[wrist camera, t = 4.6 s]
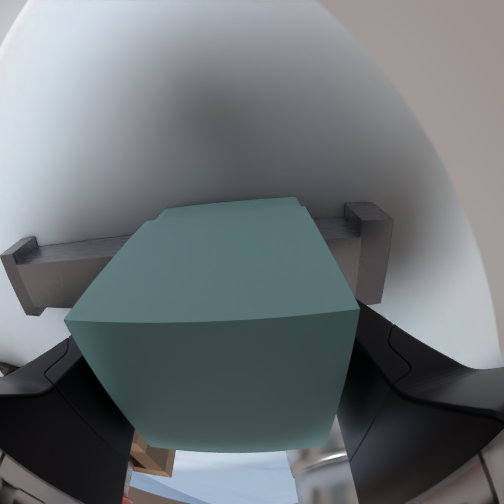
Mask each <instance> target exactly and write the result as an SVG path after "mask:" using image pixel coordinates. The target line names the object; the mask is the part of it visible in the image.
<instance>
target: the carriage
mask: <svg viewBox="0 0 504 504" xmlns="http://www.w3.org/2000/svg"><path fill="white" fill-rule="evenodd" d="M359 312H360V307H359V305H358V303H357V301H356V299H355V297H354V295H353V293H352V291H351V289H350V287H349V285H348V283H347V282H346V280H345V278H344V276H343V274H342V272H341V270H340V268H339V266H338V264H337V263H336V261H335V259H334V257H333V255H332V253H331V251H330V250H329V248H328V246H327V244H326V242H325V241H324V239H323V237H322V235H321V233H320V232H319V230H318V228H317V226H316V225H315V223H314V221H313V219H312V218H311V216H310V214H309V212H308V211H307V209H306V207H305V206H300V204H299V202H298V200H297V198H296V197H282V198H268V199H255V200H243V201H231V202H221V203H210V204H201V205H192V206H183V207H174V208H166V209H164V210H163V211H162V212H161V213H160V215H159V216H158V217H157V218H156V219H155V220H147V221H145V222H144V224H143V225H142V226H141V227H140V228H139V229H138V230H137V231H136V232H135V233H134V234H133V235H132V237H131V238H130V239H129V240H128V241H127V242H126V243H125V244H124V245H123V247H122V248H121V249H120V250H119V251H118V252H117V253H116V255H115V256H114V257H113V258H112V259H111V260H110V262H109V263H108V264H107V265H106V266H105V268H104V269H103V270H102V271H101V272H100V274H99V275H98V276H97V277H96V278H95V280H94V281H93V282H92V283H91V285H90V286H89V287H88V288H87V290H86V291H85V292H84V294H83V295H82V296H81V297H80V299H79V300H78V301H77V303H76V304H75V305H74V307H73V308H72V309H71V311H70V312H69V313H68V315H67V316H66V317H65V319H64V322H65V324H66V326H67V327H68V329H69V331H70V333H71V335H72V337H73V339H74V340H75V342H76V344H77V346H78V347H79V349H80V351H81V352H82V354H83V356H84V357H85V359H86V361H87V362H88V364H89V366H90V367H91V369H92V370H93V372H94V373H95V375H96V376H97V378H98V380H99V381H100V382H101V384H102V385H103V387H104V388H105V390H106V391H107V393H108V394H109V395H110V397H111V398H112V400H113V401H114V402H115V404H116V405H117V406H118V408H119V409H120V410H121V412H122V413H123V414H124V415H125V417H126V418H127V419H128V421H129V422H130V423H131V424H132V425H133V427H134V428H135V429H136V430H137V431H138V433H139V434H140V435H141V436H142V437H143V438H144V440H145V441H146V442H147V443H148V444H149V445H150V446H151V447H157V448H165V449H173V450H184V451H197V452H217V453H253V452H274V451H287V450H297V449H306V448H313V447H321V446H326V444H327V441H328V438H329V435H330V432H331V429H332V426H333V422H334V419H335V416H336V412H337V409H338V405H339V402H340V398H341V395H342V391H343V387H344V383H345V379H346V375H347V371H348V367H349V362H350V358H351V353H352V349H353V344H354V339H355V334H356V329H357V324H358V318H359Z"/></svg>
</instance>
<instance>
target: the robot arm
mask: <svg viewBox="0 0 504 504" xmlns="http://www.w3.org/2000/svg"><path fill="white" fill-rule="evenodd" d="M355 299H356V298H355ZM356 301H357V303H358V305H359V307H360V312H359V318H358V324H357V329H356V334H355V339H354V344H353V349H352V353H351V358H350V362H349V367H348V371H347V375H346V379H345V383H344V387H343V391H342V395H341V398H340V402H339V405H338V409H337V412H336V415H337V419H338V423H339V426H340V430H341V434H342V438H343V441H344V445H345V449H346V453H347V457H348V461H349V463H350V464H349V465H350V469H351V473H352V477H353V481H354V485H355V490H356V494H357V498H358V502H359V504H504V367H501V368H493V369H473V368H469V367H466V366H464V365H462V364H460V363H458V362H457V361H455V360H453V359H451V358H449V357H448V356H446V355H444V354H442V353H440V352H439V351H437V350H435V349H433V348H431V347H430V346H428V345H426V344H424V343H423V342H421V341H419V340H418V339H416V338H414V337H413V336H411V335H410V334H408V333H407V332H405V331H403V330H402V329H400V328H399V327H398V326H396V325H395V324H393V323H392V322H390V321H389V320H387V319H386V318H384V317H383V316H381V315H380V314H378V313H377V312H375V311H374V310H372V309H371V308H369V307H368V306H367V305H365V304H364V303H362V302H361V301H359V300H358V299H356ZM0 371H1V372H2V374H3V375H4V377H0V504H122V500H123V493H124V487H125V481H126V475H127V469H128V462H129V457H130V452H131V447H132V442H133V437H134V432H135V428H134V427H133V425H132V424H131V423H130V422H129V421H128V419H127V418H126V417H125V415H124V414H123V413H122V412H121V410H120V409H119V408H118V406H117V405H116V404H115V402H114V401H113V400H112V398H111V397H110V395H109V394H108V393H107V391H106V390H105V388H104V387H103V385H102V384H101V382H100V381H99V380H98V378H97V376H96V375H95V373H94V372H93V370H92V369H91V367H90V366H89V364H88V362H87V361H86V359H85V357H84V356H83V354H82V352H81V351H80V349H79V347H78V346H77V344H76V342H75V340H74V339H73V337H72V335H71V336H69V338H66V339H65V340H63V341H62V342H61V343H59V344H58V345H56V346H55V347H53V348H52V349H50V350H49V351H47V352H46V353H44V354H42V355H41V356H39V357H38V358H36V359H34V360H33V361H31V362H29V363H28V364H26V365H24V366H23V367H21V368H20V369H19V368H16V367H13V366H10V365H7V364H4V363H1V362H0Z"/></svg>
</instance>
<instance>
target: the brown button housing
mask: <svg viewBox="0 0 504 504" xmlns="http://www.w3.org/2000/svg"><path fill="white" fill-rule="evenodd" d="M175 452H176V450H173V449H165V448H157V447H151V446H150V445H149V444H148V443H147V442H146V441H145V440H144V438H143V437H142V436H141V435H140V434H139V433H138V431H137V430H136V429H135V432H134V437H133V442H132V447H131V452H130V454H131V455H132V456H133V457H134V458H135V462H134V467H133V471H136V472H141V473H146V474H152V475H158V476H164V477H171V476H172V470H173V464H174V458H175Z"/></svg>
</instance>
